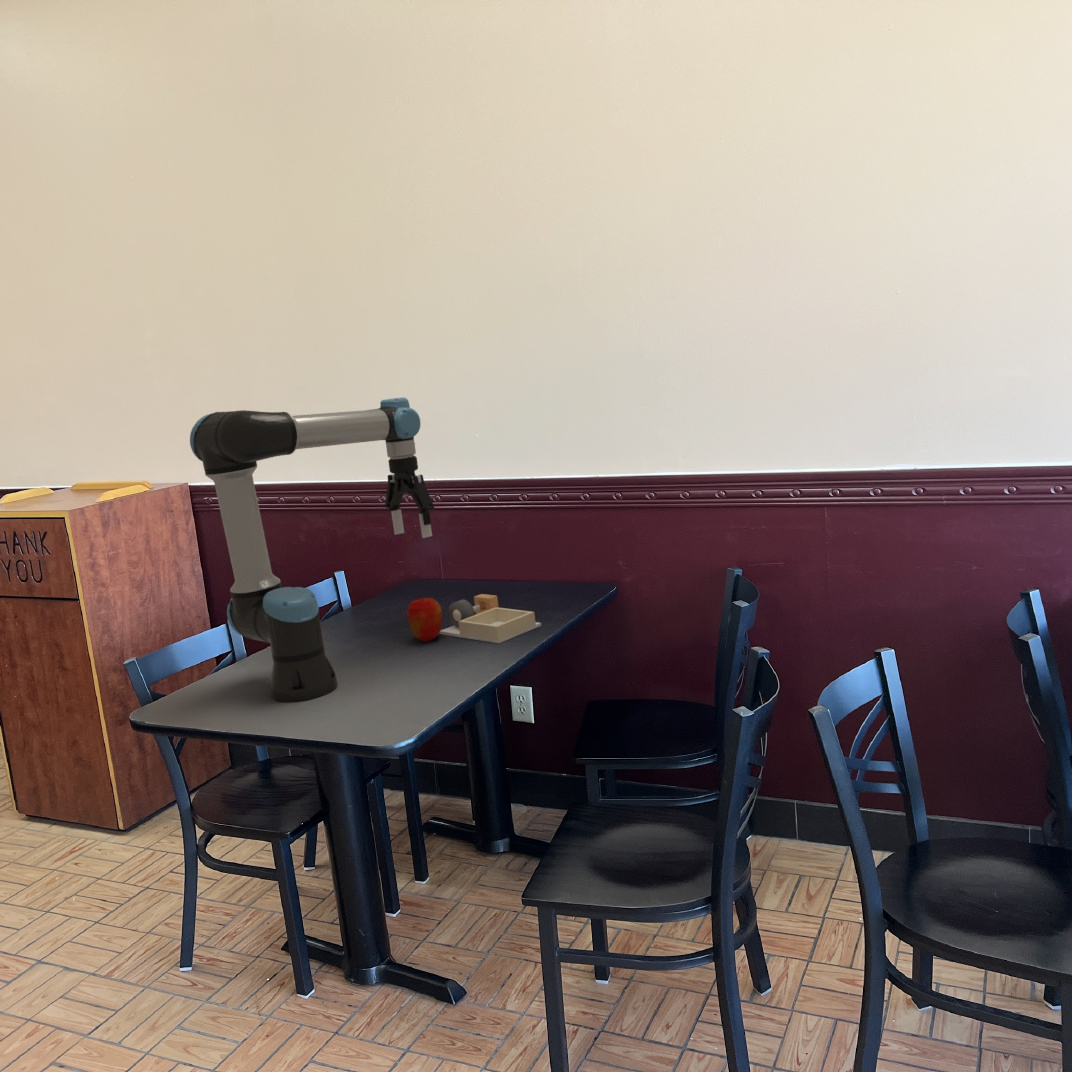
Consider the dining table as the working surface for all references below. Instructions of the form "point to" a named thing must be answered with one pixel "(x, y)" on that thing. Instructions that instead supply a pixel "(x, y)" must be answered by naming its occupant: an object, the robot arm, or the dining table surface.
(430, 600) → the apple
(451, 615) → the wheel
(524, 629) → the chassis
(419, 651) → the dining table surface
